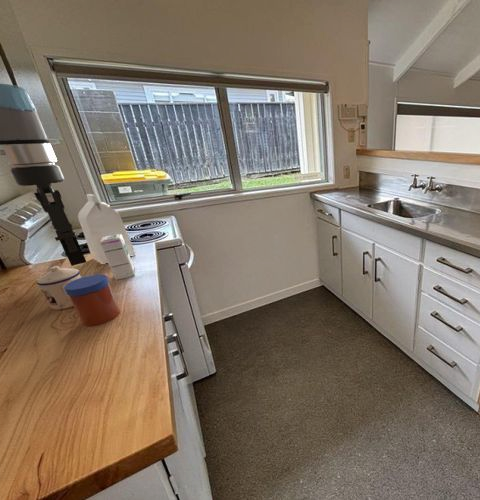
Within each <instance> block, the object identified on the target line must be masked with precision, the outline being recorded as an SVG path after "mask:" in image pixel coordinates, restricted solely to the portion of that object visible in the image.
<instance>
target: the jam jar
mask: <svg viewBox="0 0 480 500" xmlns="http://www.w3.org/2000/svg"><path fill="white" fill-rule="evenodd" d="M70 298H71V301H72V303H73V305H74V306H73V307H74V309H75V312H76V313H77V316H78V317H79V319H80V321H81V323H82V325H83V326H85V327H95V326H100V325H102V324H105V323H108V322H110V321H112V320H113V319H115V318H116V317H118V316H119V315H120V314H121V309H120V307H119V305H118V302H117V300H116V297H115V295H114V293H113V290H112V288H111V285H110V283H109V284H108V285H107V286H106V287H104V288H102V289H100V290H98V291H95V292H92V293H89V294H85V295H80V296H70Z"/></svg>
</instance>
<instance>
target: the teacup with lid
mask: <svg viewBox="0 0 480 500" xmlns="http://www.w3.org/2000/svg"><path fill="white" fill-rule="evenodd" d="M79 278H82V276H81V272H80V270H79V269H77V268H74V267H73V268H66V267H65V268H64V267H60V266H59V265H55V266H51V267H50V268H49V271H47V272H46V273H45V274H43V275H41V276H39V277H38V278H37V279H36V285H37V286H39V288H40V289H41V292H42V294H43V296H44V297H45V300H46V301H47V304H48V305H49V307H50V309H52V310H59V311H60V310H65V309H69V308H73V307H74V305H73V303H72V301H71V298H70V296H69V295H67V293H66V291H65V289H64V287H65V285H67V284H68V283H70V282H72V281H74V280H76V279H79Z"/></svg>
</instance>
